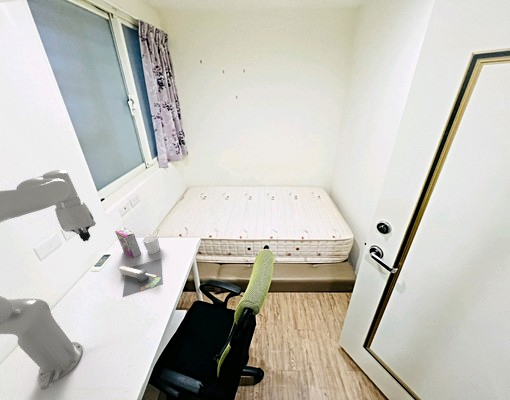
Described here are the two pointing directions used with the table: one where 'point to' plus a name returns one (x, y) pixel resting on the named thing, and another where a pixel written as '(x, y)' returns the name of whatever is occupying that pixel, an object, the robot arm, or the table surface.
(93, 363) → the table surface
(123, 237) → the candy bar box
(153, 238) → the white cup
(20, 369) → the table surface
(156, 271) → the tuner board
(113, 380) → the table surface
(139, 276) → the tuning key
